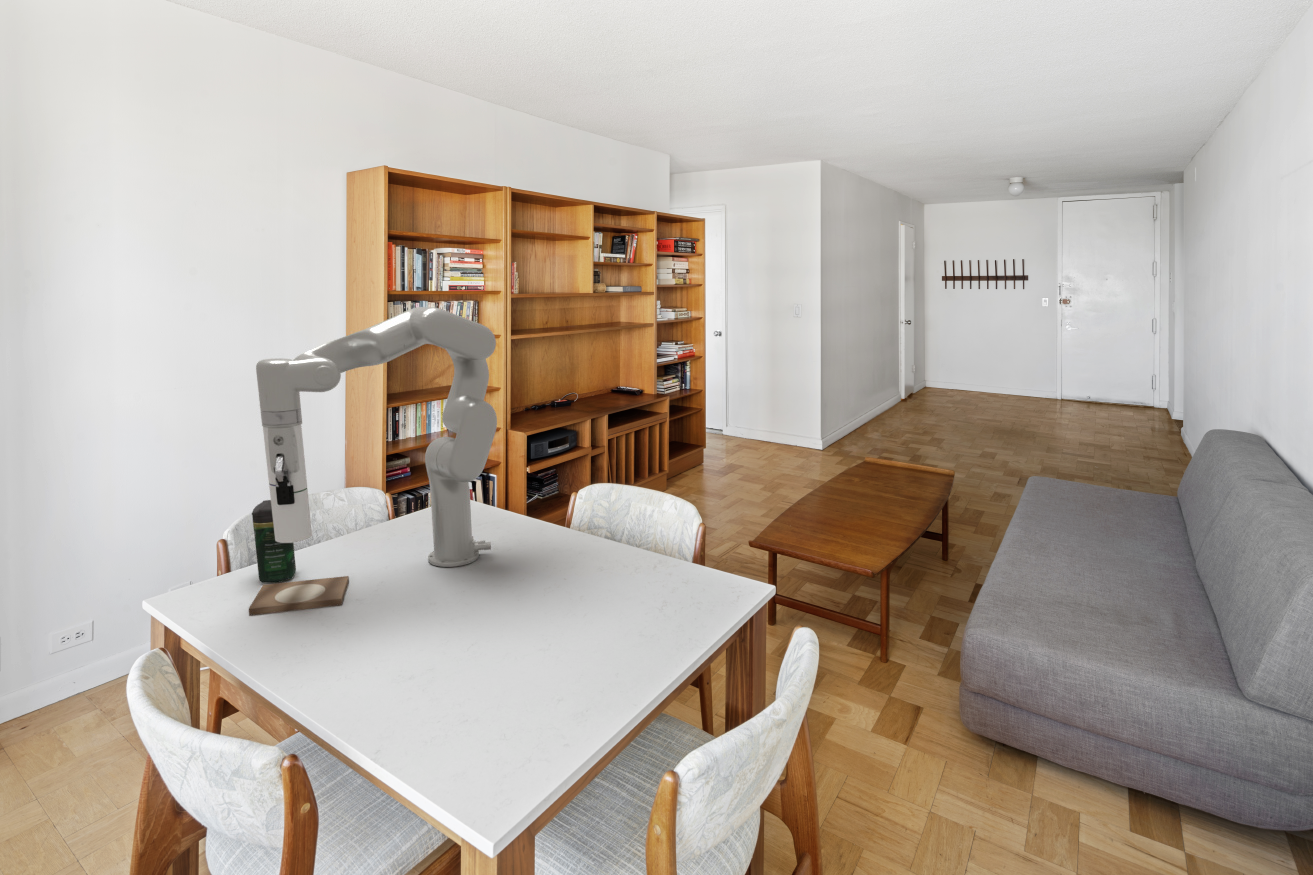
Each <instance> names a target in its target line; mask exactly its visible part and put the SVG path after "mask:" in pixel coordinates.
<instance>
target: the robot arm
mask: <svg viewBox="0 0 1313 875" xmlns="http://www.w3.org/2000/svg"><path fill="white" fill-rule="evenodd" d="M427 344H428V345H434V346H436V347H439V348H441V349H443V350H445V351H446V352H447V354H448V355H449V357H450V359H451V361H452V364H453V369H454V372H453V379H452V383H451V387H450V390H449V393H448V395H447V399H446V402H445V405H444V408H443V412H442V418H441V419H442V422H443V425H444V427H445V428H446V429H447V430H449V431H451V433H455V434H456V436H455V438H454V437H451V436H442V437H437V438H435V439H434V440H432V441H431V442H430V443H429V445H428V446H427V447H426V450H425V451H426V452H425V453H424V462H425V464H424V465H425V468H426V473H427V477H428V481H429V490H430V505H431V508H430V509H431V521H432V536H433V537H432V539H433V550H432V551H431V552H430V553H429V554H428V556H427V558H428V559H427V561H428V563H429V564H431V565H433V566H435V567H441V568H442V567H443V568H450V567H451V568H453V567H459V566H464V565H465V566H466V565H468V564H472V563H473V562H475V561H476V560H478V558H479V557H480V551H489V550H490V551H492V543H491V541H488V542H486V540H478V541H477V540H474V536H473V529H472V528H473V527H472V509H471V491H470V484H469V483H470V482H473V481H475V480H476V479H477V478H479V477H480V475H481V474H482V472H483V470H484V469H485V467H486V463H487V461H488V457H489V455H490V451H491V448H492V444H493V442H494V438H495V435H496V432H497V427H498V417H497V413H496V411H495V408H494V407H493V405H492V404H490V403H489V402H487V401H485V397H486V393H487V390H488V385H489V379H490V370H489V366H488V362H487V359H488V358H490V357H491V356H492V355H493V353H494V352H495V350H496V346H497V341H496V336H495V334H494V333H493V331H492V330H491V329H490V328H489V327H487V326H485V325H484V324H482V323H480V322H476V321H473V320H471V319H468V318H465V317H462V316H460V315H458V314H455V313H452V312H450V311H448V310H445V309H442V308H439V307H433V306H432V307H431V306H428V307H427V306H417V307H413V308H411V309H408V310H405V311H403V312H401V313H398V314H397V315H394V316H393V317H390V318H388V319H385V320H383V321H381V322H379V323H376V324H374V325H372V326H370V327H367V328H365V329H361V330H359V331H355V332H353V333H351V334H349V335H346V336H343V337H339V338H337V339H334V340H332V341H328V342H326V343H323V344H321V345H319V346H317V347H315V348H312V349H310V350H308V351H305V352H303V353H301V354H298V355H297V356H296V357H295V358H294V359H290V358H265V359H261V360H259V361H257V363H256V365H255V370H256V371H255V372H256V381H257V390H258V401H259V409H260V418H261V426H262V428H263V427H267V428H268V444H269V456H270V465H271V470H272V472H273V473H274V474H275V475H276V478H275V479H276V495H277V504H278V505H288V504H294V503H295V499H294V489H293V485H291V471H294V473H296V472H298V471H299V470H300V469H299V459H298V450H297V441H296V435H295V430H294V427H293V426H297V425H301V426H302V425H303V416H302V407H301V406H302V405H301V395H300V392H303V393H304V392H307V393H325V392H330V391H331V390H333V389H335V388H336V387H337V386H338V385H339V384H340V381H341V378H342V373H345V372H348V371H350V370H351V371H352V370H354V369H358V368H363V367H373V366H378V365H382V364H385V363H388V362H390V361H393V360H395V359H396V358H398V357H400V356H402V355H404V354H406V353H408V352H411V351H413V350H415V349H417V348H420V347H421V346H423V345H427ZM278 439H280V441H278ZM284 461H285V464H286V465H287V467H288V471H283V469H284ZM275 467H276V468H275ZM274 468H275V470H274ZM284 475H287V477H286V476H284Z"/></svg>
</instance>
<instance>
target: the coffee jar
mask: <svg viewBox="0 0 1313 875" xmlns="http://www.w3.org/2000/svg"><path fill="white" fill-rule="evenodd" d="M251 516H252V527H253V534H254V536H253V537H254V544H255V551H256V563H257V575H258V579H259V582H260V583H262V584H263V583H266V584H275V583H283V582H285V581H288V580H291V579H293V578H294V576H295V575H296V572H297V571H296V570H297V565H296V555H295V544H294V543H295V542H293V543H280V542H276V541H275V534H274V524H273V515H272V506H271V499H267V500H263V501H261V502H260V503H259V504H257V505H256V506H254V508H253V510H252V513H251Z"/></svg>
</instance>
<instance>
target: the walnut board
mask: <svg viewBox="0 0 1313 875" xmlns="http://www.w3.org/2000/svg"><path fill="white" fill-rule="evenodd" d="M349 583H350V576H349V575H344V576H335V577H326V578H324V577H323V578H318V579H317V578H316V579H315V578H314V579H306V580H305V579H304V580H298V581H297V580H295V581H286V582H285V581H284V582H279V583H266V584H262V586H261V587H260V589H259V591H258V592H257V594H256V596H255V597H254V600H252V602H251V604H250V605H249V607H248V616H256V615H257V616H258V615H267V614H274V613H275V614H276V613H284V612H291V611H292V612H294V611H302V610H309V609H319V608H325V607H335V606H342V605H343V603H344V600H345V596H346V594H347V593H346V592H347V589H348V587H349Z"/></svg>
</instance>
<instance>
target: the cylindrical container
mask: <svg viewBox="0 0 1313 875" xmlns="http://www.w3.org/2000/svg"><path fill="white" fill-rule="evenodd" d="M293 427H294V430H295V435H296V441H297V450H298V459H299V469H300V470H299V471H298V472H296V473H294V471H291V485H293V489H294V499H295V503H294V504H288V505H278V504H277V495H276V479H275V478H276V475H275V474H274V473H273V472H272V470H271V465H270V456H269V444H268V428H267V427H263V426H262V431H263V441H264V451H265V460H266V466H267V468H266V470H267V477H268V487H269V494H270V500H271V506H272V515H273V524H274V534H275V541H276V542H280V543H293V542H294V543H298V542H303V541H306V540H308V539H310V538H311V537H312V536H313V533H312V532H313V531H312V522H311V511H310V502H309V501H310V500H309V493H308V482H307V481H308V480H307V470H306V469H307V468H306V460H305V449H304V440H303V429H302V424H301V425H297V426H293ZM278 441H280V439H278ZM275 468H276V467H275ZM275 468H274V470H275ZM283 471H288V467H287V465H286V464H285V461H284V469H283ZM284 476H286V477H287V475H284Z"/></svg>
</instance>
